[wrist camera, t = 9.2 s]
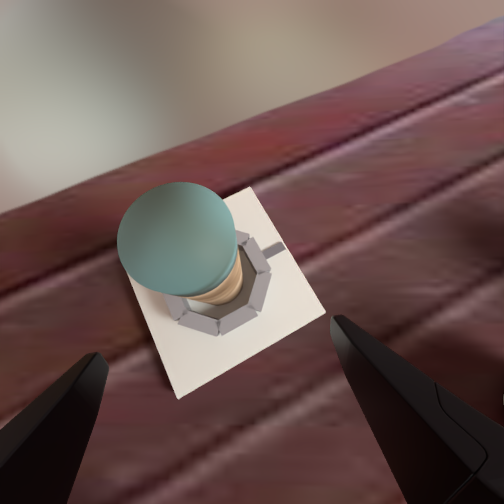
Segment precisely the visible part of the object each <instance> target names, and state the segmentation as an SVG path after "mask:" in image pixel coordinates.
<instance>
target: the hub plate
mask: <svg viewBox="0 0 504 504" xmlns="http://www.w3.org/2000/svg"><path fill="white" fill-rule="evenodd" d="M223 201H224V202H225V204H226V205H227V207H228V208H229V210H230V212H231V214H232V218H233V221H234V226H235V232H236V238H237V244H238V250H239V255H240V261H241V267H242V273H243V287H242V290H241V292H240V293H239V295H238V296H237V297H236V298H235V299H234V300H233V301H231V302H230V303H228V304H225V305H211V304H207V303H203V302H199V301H195V300H190V299H186V298H182V297H178V296H174V295H169V294H165V293H161V292H157V291H153V290H151V289H148V288H146V287H144V286H142V285H140V284H139V283H137V282H136V281H135V280H134V279H133V278H132V277H131V276H130V275H129V274H128V273H127V274H128V277H129V279H130V282H131V284H132V287H133V289H134V292H135V294H136V297H137V299H138V302H139V304H140V307H141V309H142V312H143V314H144V317H145V319H146V322H147V324H148V327H149V329H150V332H151V334H152V337H153V339H154V342H155V344H156V347H157V349H158V352H159V354H160V357H161V359H162V362H163V364H164V367H165V369H166V372H167V374H168V377H169V379H170V382H171V384H172V387H173V389H174V392H175V394H176V397H177V399H179V398H181V397H183V396H184V395H186V394H188V393H189V392H191V391H193V390H195V389H196V388H198V387H200V386H201V385H203V384H205V383H207V382H208V381H210V380H212V379H213V378H215V377H217V376H219V375H220V374H222V373H224V372H225V371H227V370H229V369H230V368H232V367H234V366H236V365H237V364H239V363H241V362H242V361H244V360H246V359H248V358H249V357H251V356H253V355H254V354H256V353H258V352H260V351H261V350H263V349H265V348H266V347H268V346H270V345H272V344H273V343H275V342H277V341H278V340H280V339H282V338H283V337H285V336H287V335H289V334H290V333H292V332H294V331H295V330H297V329H299V328H301V327H302V326H304V325H306V324H307V323H309V322H311V321H313V320H314V319H316V318H318V317H319V316H321V315H323V314H325V313H326V312H325V310H324V308H323V307H322V305H321V303H320V302H319V300H318V298H317V297H316V295H315V293H314V292H313V290H312V288H311V287H310V285H309V283H308V282H307V280H306V279H305V277H304V275H303V274H302V272H301V270H300V269H299V267H298V265H297V264H296V262H295V260H294V259H293V257H292V255H291V254H290V252H289V250H288V249H287V247H286V245H285V244H284V242H283V240H282V239H281V237H280V235H279V234H278V232H277V230H276V229H275V227H274V225H273V224H272V222H271V220H270V219H269V217H268V215H267V214H266V212H265V210H264V209H263V207H262V205H261V204H260V202H259V200H258V199H257V197H256V195H255V194H254V192H253V190H252V189H251V187H249V188H246V189H244V190H242V191H240V192H238V193H236V194H234V195H232V196H229V197H227V198H225V199H223ZM126 272H127V271H126Z"/></svg>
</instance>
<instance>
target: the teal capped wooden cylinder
mask: <svg viewBox="0 0 504 504" xmlns="http://www.w3.org/2000/svg"><path fill="white" fill-rule="evenodd" d="M117 249H118V255H119V258H120V261H121V263H122V265H123V267H124V269H125V270H126V271H127V273H128V274H129V275H130V276H131V277H132V278H133V279H134V280H135V281H136V282H137V283H139V284H140V285H142V286H144V287H146V288H148V289H151V290H153V291H157V292H161V293H165V294H169V295H174V296H178V297H182V298H186V299H190V300H195V301H199V302H203V303H207V304H211V305H225V304H228V303H230V302H231V301H233V300H234V299H235V298H236V297H237V296H238V295H239V293H240V292H241V290H242V287H243V273H242V267H241V261H240V255H239V250H238V244H237V238H236V232H235V226H234V221H233V218H232V214H231V212H230V210H229V208H228V207H227V205H226V204H225V202H224V201H223V200H222V199H221V198H220V197H219V196H218V195H217V194H216V193H214V192H213V191H211V190H210V189H208V188H205V187H203V186H201V185H198V184H194V183H188V182H174V183H167V184H164V185H160V186H158V187H155V188H153V189H151V190H149V191H147V192H146V193H144V194H143V195H141V196H140V197H139V198H138V199H137V200H135V201H134V203H133V204H132V205H131V206H130V207H129V208H128V210H127V211H126V213H125V215H124V216H123V218H122V221H121V223H120V226H119V230H118V235H117Z"/></svg>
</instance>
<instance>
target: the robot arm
mask: <svg viewBox="0 0 504 504" xmlns="http://www.w3.org/2000/svg"><path fill="white" fill-rule="evenodd" d="M330 334H331V338H332V340H333V343H334V346H335V349H336V352H337V354H338V357H339V360H340V363H341V365H342V368H343V371H344V373H345V376H346V378H347V380H348V382H349V384H350V386H351V388H352V390H353V392H354V394H355V397H356V399H357V401H358V403H359V405H360V407H361V409H362V411H363V413H364V415H365V417H366V419H367V421H368V423H369V425H370V427H371V430H372V432H373V434H374V436H375V438H376V440H377V442H378V444H379V446H380V448H381V450H382V452H383V454H384V456H385V458H386V461H387V463H388V465H389V467H390V469H391V471H392V473H393V475H394V477H395V479H396V481H397V483H398V485H399V487H400V489H401V491H402V494H403V496H404V498H405V500H406V502H407V504H504V427H503V426H501V425H500V424H498V423H496V422H495V421H493V420H492V419H490V418H489V417H487V416H485V415H484V414H482V413H481V412H479V411H478V410H476V409H475V408H473V407H472V406H470V405H469V404H467V403H466V402H464V401H463V400H461V399H460V398H458V397H457V396H456V395H454V394H453V393H451V392H450V391H448V390H447V389H446V388H444V387H443V386H441V385H440V384H439V383H437V382H434V380H433V379H431V378H430V377H429V376H427V375H426V374H425V373H423V372H422V371H420V370H419V369H418V368H416V367H415V366H413V365H412V364H411V363H409V362H408V361H406V360H405V359H404V358H402V357H401V356H399V355H398V354H397V353H395V352H394V351H392V350H391V349H390V348H388V347H387V346H385V345H384V344H383V343H381V342H380V341H379V340H377V339H376V338H374V337H373V336H372V335H370V334H369V333H367V332H366V331H365V330H363V329H362V328H360V327H359V326H358V325H356V324H355V323H353V322H352V321H351V320H349V319H348V318H346V317H345V316H344V315H335V316H332V317H331V324H330ZM108 372H109V366H108V364H107V362H106V361H105V359H104V358H103V356H102V355H101V353H99V352H94V353H88V354H86V355H85V356H84V357H82V358H81V359H80V360H79V361H78V362H77V363H76V364H74V365H73V366H72V367H71V368H70V369H69V370H68V371H67V372H65V373H64V374H63V375H62V376H61V377H60V378H59V379H57V380H56V381H55V382H54V383H53V384H52V385H51V386H49V387H48V388H47V389H46V390H45V391H44V392H43V393H42V394H40V395H39V396H38V397H37V398H36V399H35V400H34V401H32V402H31V403H30V404H29V405H28V406H27V407H26V408H24V409H23V410H22V411H21V412H20V413H19V414H18V415H17V416H15V417H14V418H13V419H12V420H11V421H10V422H9V423H7V424H6V425H5V426H4V427H3V428H2V429H1V430H0V504H67V501H68V498H69V496H70V493H71V490H72V487H73V484H74V481H75V478H76V476H77V473H78V470H79V467H80V464H81V461H82V458H83V456H84V453H85V450H86V447H87V444H88V441H89V438H90V436H91V433H92V430H93V427H94V424H95V421H96V418H97V415H98V412H99V408H100V404H101V400H102V396H103V392H104V388H105V384H106V380H107V376H108Z"/></svg>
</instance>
